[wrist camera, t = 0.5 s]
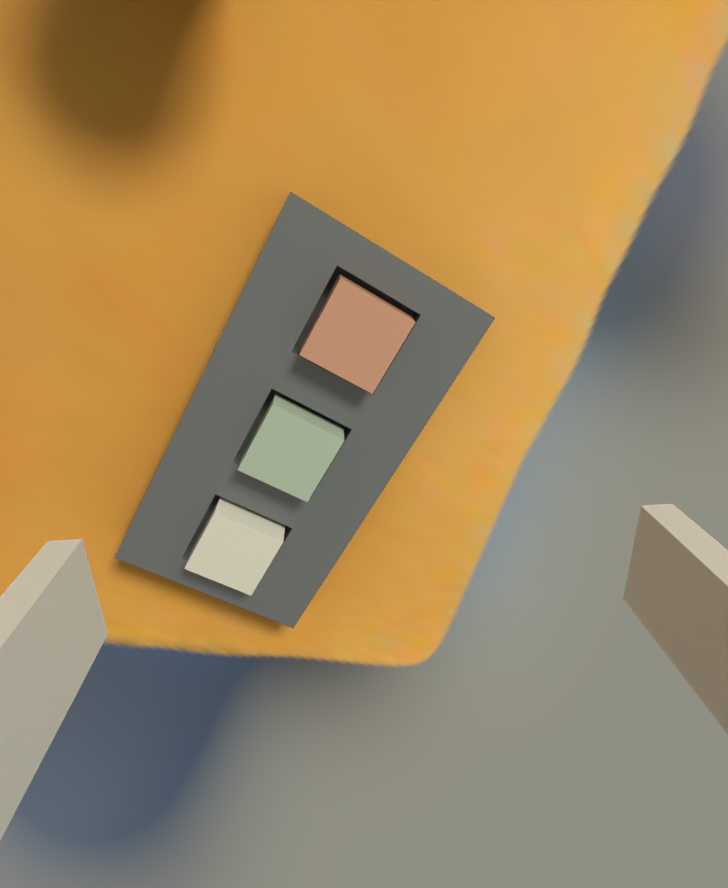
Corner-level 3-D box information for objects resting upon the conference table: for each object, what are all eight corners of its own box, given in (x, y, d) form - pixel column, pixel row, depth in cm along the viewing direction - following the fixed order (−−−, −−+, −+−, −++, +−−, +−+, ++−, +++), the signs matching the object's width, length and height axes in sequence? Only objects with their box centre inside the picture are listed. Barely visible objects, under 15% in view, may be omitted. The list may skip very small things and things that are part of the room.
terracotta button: (300, 346, 34) (299, 354, 32) (339, 273, 33) (340, 277, 30) (369, 383, 35) (372, 394, 33) (410, 315, 34) (415, 322, 32)
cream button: (191, 550, 39) (184, 568, 37) (220, 496, 38) (214, 512, 36) (254, 576, 41) (251, 595, 39) (285, 525, 39) (283, 542, 37)
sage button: (242, 455, 37) (237, 469, 35) (275, 393, 35) (272, 404, 33) (308, 486, 38) (307, 502, 36) (343, 427, 36) (344, 440, 34)
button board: (126, 538, 41) (114, 557, 38) (292, 193, 32) (290, 191, 30) (294, 606, 44) (293, 628, 42) (484, 310, 36) (495, 318, 33)
